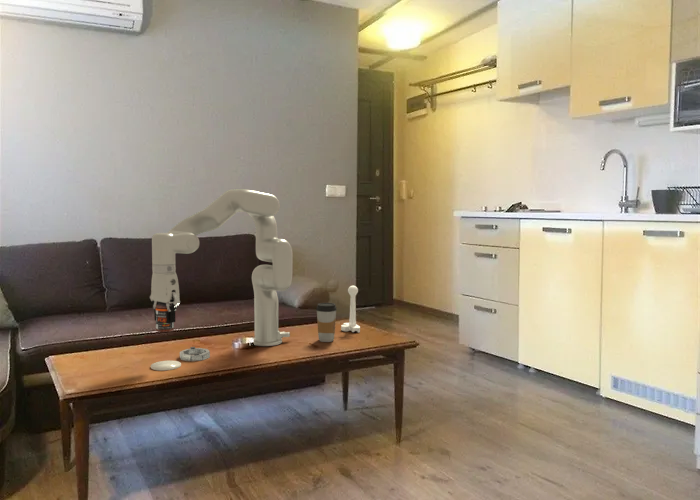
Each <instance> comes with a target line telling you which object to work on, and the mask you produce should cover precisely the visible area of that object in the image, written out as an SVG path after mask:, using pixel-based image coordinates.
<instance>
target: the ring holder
mask: <svg viewBox="0 0 700 500" xmlns="http://www.w3.org/2000/svg"><path fill="white" fill-rule="evenodd" d="M209 358H211V352H210V349H208V348H202V347H197V348H196V346H190V348H186V349H183V350H181V351H179V359H180V361H185V362H198V361H205V360H206V359H209Z"/></svg>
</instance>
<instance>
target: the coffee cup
mask: <svg viewBox="0 0 700 500" xmlns="http://www.w3.org/2000/svg"><path fill="white" fill-rule="evenodd" d="M336 315H337V306H336V303H334V302H320V303H317V306H316V316H317V317H316V320H317V321H316V322H317V335H318V340H319V342H322V343H330V342H333V341H334V339H335V333H336V321H337V320H336Z"/></svg>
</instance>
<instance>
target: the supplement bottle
mask: <svg viewBox="0 0 700 500" xmlns="http://www.w3.org/2000/svg"><path fill="white" fill-rule="evenodd" d="M170 302H171V301H170ZM171 305H172V304H170V307H171ZM166 312H168V310H167V306H166V303H162V302H159V304H158V305H157V306H156V321H155V331H156V332H158V333H169V332H173V331H174V330H175V322H173V323H167V316H166Z"/></svg>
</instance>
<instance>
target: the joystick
mask: <svg viewBox="0 0 700 500" xmlns="http://www.w3.org/2000/svg"><path fill="white" fill-rule="evenodd" d="M347 293H348V294H349V296H350V297H349V298H350V299H349V300H350V301H349V302H350V303H349V322H343V324H341V325H340V326H341V327H340V329H341V331H342V332H350V331H351V333H355V332H356V333H360V332H361V326H360V325H359V324H357V314H356V313H357V312H356V311H357V310H356V309H357V306H356V296H357V295H358V293H359V288H358V287H357V286H356V285H350V286H349V287H348V288H347Z"/></svg>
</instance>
